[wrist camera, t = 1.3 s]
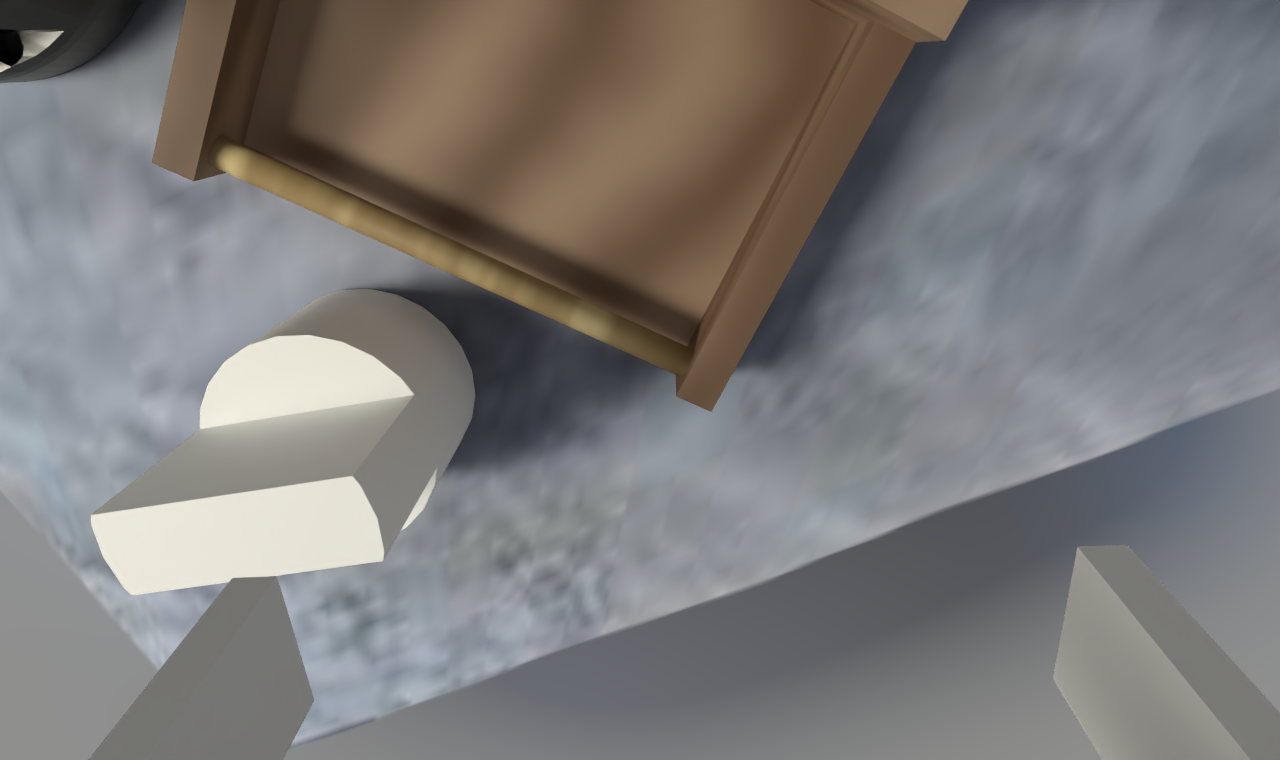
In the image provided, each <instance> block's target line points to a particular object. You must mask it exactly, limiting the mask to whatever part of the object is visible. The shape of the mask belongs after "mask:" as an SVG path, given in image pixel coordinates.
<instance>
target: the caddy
mask: <svg viewBox="0 0 1280 760" xmlns="http://www.w3.org/2000/svg"><path fill="white" fill-rule="evenodd" d="M967 2H968V0H186V5H185V10H184V15H183V19H182V24H181V29H180V33H179V38H178V43H177V47H176V52H175V57H174V61H173V66H172V71H171V75H170V80H169V85H168V90H167V94H166V99H165V104H164V108H163V113H162V118H161V122H160V127H159V132H158V136H157V141H156V146H155V150H154V155H153V160H152V163H154V164H156V165H158V166H160V167H163V168H165V169H167V170H169V171H172V172H174V173H176V174H178V175H181V176H183V177H185V178H187V179H190V180H192V181H197V180H200V179H204V178H208V177H212V176H216V175H219V174H223V173H228V174H230V175H232V176H234V177H237V178H239V179H241V180H243V181H246V182H248V183H250V184H252V185H255V186H257V187H259V188H261V189H263V190H266V191H268V192H270V193H272V194H275V195H277V196H279V197H281V198H283V199H286V200H288V201H290V202H292V203H295V204H297V205H299V206H301V207H304V208H306V209H308V210H310V211H312V212H315V213H317V214H319V215H321V216H324V217H326V218H328V219H330V220H332V221H335V222H337V223H339V224H341V225H344V226H346V227H348V228H350V229H353V230H355V231H357V232H359V233H361V234H364V235H366V236H368V237H370V238H373V239H375V240H377V241H379V242H381V243H384V244H386V245H388V246H390V247H393V248H395V249H397V250H399V251H402V252H404V253H406V254H408V255H410V256H413V257H415V258H417V259H419V260H422V261H424V262H426V263H428V264H430V265H433V266H435V267H437V268H439V269H442V270H444V271H446V272H448V273H451V274H453V275H455V276H457V277H459V278H462V279H464V280H466V281H468V282H471V283H473V284H475V285H477V286H479V287H482V288H484V289H486V290H488V291H491V292H493V293H495V294H497V295H500V296H502V297H504V298H506V299H508V300H511V301H513V302H515V303H517V304H520V305H522V306H524V307H526V308H528V309H531V310H533V311H535V312H537V313H540V314H542V315H544V316H546V317H548V318H551V319H553V320H555V321H557V322H560V323H562V324H564V325H566V326H569V327H571V328H573V329H575V330H577V331H580V332H582V333H584V334H586V335H589V336H591V337H593V338H595V339H597V340H600V341H602V342H604V343H606V344H609V345H611V346H613V347H615V348H618V349H620V350H622V351H624V352H626V353H629V354H631V355H633V356H635V357H638V358H640V359H642V360H644V361H646V362H649V363H651V364H653V365H655V366H658V367H660V368H662V369H664V370H667V371H669V372H671V373H673V374H675V375H676V396H677V397H679V398H681V399H684V400H686V401H688V402H690V403H693V404H695V405H697V406H699V407H702V408H704V409H706V410H708V411H712V409H713V408H714V406H715V404H716V402H717V400H718V399H719V397H720V395H721V393H722V391H723V390H724V388H725V386H726V384H727V382H728V381H729V379H730V377H731V375H732V373H733V372H734V370H735V368H736V366H737V364H738V363H739V361H740V359H741V357H742V355H743V354H744V352H745V350H746V348H747V346H748V344H749V343H750V341H751V339H752V337H753V335H754V334H755V332H756V330H757V328H758V326H759V325H760V323H761V321H762V319H763V317H764V316H765V314H766V312H767V310H768V308H769V307H770V305H771V303H772V301H773V299H774V298H775V296H776V294H777V292H778V290H779V289H780V287H781V285H782V283H783V281H784V280H785V278H786V276H787V274H788V272H789V271H790V269H791V267H792V265H793V263H794V261H795V260H796V258H797V256H798V254H799V252H800V251H801V249H802V247H803V245H804V243H805V242H806V240H807V238H808V236H809V234H810V233H811V231H812V229H813V227H814V225H815V224H816V222H817V220H818V218H819V216H820V215H821V213H822V211H823V209H824V207H825V206H826V204H827V202H828V200H829V198H830V197H831V195H832V193H833V191H834V189H835V187H836V186H837V184H838V182H839V180H840V178H841V177H842V175H843V173H844V171H845V169H846V168H847V166H848V164H849V162H850V160H851V159H852V157H853V155H854V153H855V151H856V150H857V148H858V146H859V144H860V142H861V141H862V139H863V137H864V135H865V133H866V132H867V130H868V128H869V126H870V124H871V123H872V121H873V119H874V117H875V115H876V113H877V112H878V110H879V108H880V106H881V104H882V103H883V101H884V99H885V97H886V95H887V94H888V92H889V90H890V88H891V86H892V85H893V83H894V81H895V79H896V77H897V76H898V74H899V72H900V70H901V68H902V67H903V65H904V63H905V61H906V59H907V58H908V56H909V54H910V52H911V50H912V49H913V47H914V45H915V43H916V42H931V41H946V39H947V37H948V36H949V34H950V32H951V30H952V28H953V27H954V25H955V23H956V21H957V20H958V18H959V16H960V14H961V13H962V11H963V9H964V7H965V6H966V4H967Z"/></svg>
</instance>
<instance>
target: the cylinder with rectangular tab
mask: <svg viewBox="0 0 1280 760" xmlns="http://www.w3.org/2000/svg"><path fill="white" fill-rule="evenodd" d="M474 402H475V389H474V382H473V375H472V370H471V367H470V365H469V363H468V360H467V358H466V356H465V353H464V351H463V349H462V346H461V345H460V344H459V343H458V341H457V340H456V339H455V337H454V336H453V335H452V333H451V332H450V331H449V329H448V328H447V327H446V326H445V324H443V323H442V322H441V321H440V320H438V319H437V318H436V317H435V316H433V315H432V314H431V313H430V312H428V311H427V310H426V309H425V308H424V307H422V306H420V305H418V304H416V303H414V302H412V301H409V300H407V299H405V298H403V297H401V296H399V295H397V294H392V293H387V292H383V291H378V290H373V289H351V290H341V291H338V292H334V293H331V294H328V295H325V296H322V297H319V298H317V299H316V300H314V301H313V302H311V303H310V304H308V305H307V306H305V307H304V308H302V309H301V310H299V311H298V312H296V313H295V314H294V315H292V316H291V317H289V318H288V319H286V320H285V321H283V322H282V323H280V324H279V325H277V326H276V327H274V328H273V329H271V330H270V331H269V332H267V333H266V334H264V335H263V336H261V337H260V338H258V339H257V340H255V341H254V342H252V343H251V344H249V345H248V346H247V347H245V348H244V349H242V350H241V351H239V352H238V353H236V354H235V355H234V356H232V357H231V358H229V359H228V360H226V361H225V362H224V363H223V365H222V366H221V367H220V369H219V370H218V371H217V373H216V374H215V375H214V377H213V378H212V379H211V381H210V382H209V384H208V386H207V389H206V393H205V396H204V399H203V402H202V405H201V408H200V429H199V430H198V431H197V432H196V433H194V434H193V435H192V436H191V437H189V438H188V439H187V440H186V441H184V442H183V443H182V444H180V445H179V446H178V447H177V448H175V449H174V450H173V451H172V452H170V453H169V454H168V455H166V456H165V457H164V458H163V459H161V460H160V461H159V462H158V463H156V464H155V465H154V466H153V467H151V468H150V469H149V470H147V471H146V472H145V473H144V474H142V475H141V476H140V477H139V478H137V479H136V480H135V481H133V482H132V483H131V484H130V485H128V486H127V487H126V488H125V489H123V490H122V491H121V492H120V493H118V494H117V495H116V496H114V497H113V498H112V499H111V500H109V501H108V502H107V503H106V504H104V505H103V506H102V507H100V508H99V509H98V510H97V511H95V512H94V513H93V514H92V515H91V525H92V528H93V531H94V533H95V536H96V539H97V542H98V544H99V547H100V550H101V553H102V555H103V558H104V559H105V561H106V562H107V564H108V565H109V567H110V568H111V570H112V571H113V572H114V574H115V575H116V577H117V578H118V580H119V581H120V583H121V584H122V586H123V587H124V588H125V589H126V590H127V591H128V592H129V593H130V594H131V595H139V594H146V593H153V592H160V591H168V590H175V589H182V588H190V587H197V586H204V585H211V584H219V583H226V582H230V580H231V579H232V578H242V577H269V576H277V575H284V574H291V573H299V572H306V571H313V570H321V569H328V568H335V567H342V566H350V565H357V564H364V563H372V562H379V561H383V560H384V559H385V557H386V555H387V553H388V552H389V550H390V548H391V546H392V545H393V543H394V541H395V539H396V538H397V536H398V534H399V532H400V531H401V530H403V529H405V528H406V527H407V526H408V525H409V524H410V523H411V522H412V521H413V520H414V519H415V518H416V517H417V516H418V514H419V513H420V512H421V511H422V510H423V509H424V508H425V506H426V504H427V502H428V500H429V499H430V497H431V495H432V493H433V491H434V489H435V488H436V486H437V484H438V482H439V480H440V479H441V477H442V475H443V473H444V471H445V470H446V468H447V466H448V464H449V462H450V460H451V459H452V457H453V455H454V453H455V451H456V450H457V448H458V446H459V444H460V442H461V441H462V439H463V437H464V434H465V432H466V430H467V428H468V426H469V424H470V422H471V420H472V415H473V409H474Z"/></svg>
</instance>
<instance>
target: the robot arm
mask: <svg viewBox="0 0 1280 760" xmlns="http://www.w3.org/2000/svg"><path fill="white" fill-rule="evenodd" d="M139 1H140V0H0V83H9V82H26V81H33V80H40V79H44V78H48V77H52V76H55V75H58V74H61V73H64V72H66V71H69V70H71V69H73V68H75V67H77V66H79V65H81V64H83V63H84V62H86V61H88V60H89V59H91V58H92V57H94V56H95V55H96V54H98V53H99V52H100V51H101V50H103V49H104V48H105V47H106V46H107V45H108V44H109V43H110V42H111V41H112V40H113V39H114V38H115V37H116V36H117V35H118V34H119V32H120V31H121V30H122V29H123V27H124V26H125V25H126V23H127V22H128V20H129V19H130V17H131V16H132V14H133V13H134V11H135V9H136V7H137V5H138V3H139ZM1053 680H1054V681H1055V683H1056V685H1057V686H1058V688H1059V689H1060V691H1061V693H1062V694H1063V696H1064V698H1065V699H1066V701H1067V703H1068V705H1069V706H1070V708H1071V709H1072V711H1073V713H1074V714H1075V716H1076V717H1077V719H1078V721H1079V723H1080V724H1081V726H1082V728H1083V729H1084V731H1085V733H1086V734H1087V736H1088V737H1089V739H1090V741H1091V743H1092V744H1093V746H1094V747H1095V749H1096V751H1097V752H1098V754H1099V756H1100V757H1101V759H1102V760H1280V712H1279V711H1278V710H1277V709H1276V708H1275V707H1274V706H1273V705H1272V704H1271V703H1270V701H1269V700H1268V699H1267V698H1266V697H1265V696H1264V695H1263V694H1262V693H1261V692H1260V691H1259V689H1258V688H1257V687H1256V686H1255V685H1254V684H1253V683H1252V682H1251V681H1250V679H1249V678H1248V677H1247V676H1246V675H1245V674H1244V673H1243V672H1242V671H1241V670H1240V669H1239V668H1238V666H1237V665H1236V664H1235V663H1234V662H1233V661H1232V660H1231V659H1230V658H1229V656H1228V655H1226V653H1225V652H1224V651H1223V650H1222V649H1221V648H1220V647H1219V646H1218V644H1217V643H1216V642H1215V641H1214V640H1213V639H1212V638H1211V637H1210V636H1209V634H1208V633H1207V632H1206V631H1205V630H1204V629H1203V628H1202V627H1201V626H1200V625H1199V624H1198V622H1197V621H1196V620H1195V619H1194V618H1193V617H1192V616H1191V615H1190V614H1189V613H1188V611H1187V610H1186V609H1185V608H1184V607H1183V606H1182V605H1181V604H1180V603H1179V602H1178V601H1177V600H1176V598H1175V597H1174V596H1173V595H1172V594H1171V593H1170V592H1169V591H1168V590H1167V588H1166V587H1165V586H1164V585H1163V584H1162V583H1161V582H1160V581H1159V580H1158V579H1157V577H1155V575H1154V574H1153V573H1152V572H1151V571H1150V570H1149V569H1148V568H1147V567H1146V566H1145V564H1144V563H1143V562H1142V561H1141V560H1140V559H1139V558H1138V557H1137V556H1136V555H1135V553H1134V552H1133V551H1132V550H1131V549H1130V548H1129V547H1128V546H1127V545H1116V546H1088V547H1078V548H1077V553H1076V559H1075V564H1074V569H1073V575H1072V580H1071V585H1070V591H1069V596H1068V601H1067V607H1066V612H1065V618H1064V623H1063V628H1062V633H1061V639H1060V644H1059V649H1058V655H1057V660H1056V665H1055V671H1054V676H1053ZM313 701H314V698H313V695H312V691H311V688H310V685H309V681H308V678H307V675H306V671H305V668H304V665H303V661H302V658H301V655H300V651H299V648H298V645H297V641H296V638H295V635H294V632H293V628H292V625H291V622H290V618H289V615H288V612H287V608H286V605H285V602H284V598H283V595H282V592H281V588H280V585H279V582H278V578H277V576H269V577H242V578H232V579H231V580H230V582H229V583H228V584H227V585H226V587H225V588H224V589H223V590H222V592H221V593H220V594H219V596H218V597H217V598H216V599H215V601H214V602H213V603H212V604H211V606H210V607H209V608H208V609H207V611H206V612H205V613H204V614H203V616H202V617H201V618H200V620H199V621H198V622H197V623H196V625H195V626H194V627H193V628H192V630H191V631H190V632H189V633H188V635H187V636H186V637H185V638H184V640H183V641H182V642H181V643H180V645H179V646H178V647H177V649H176V650H175V651H174V652H173V654H172V655H171V656H170V657H169V659H168V660H167V661H166V662H165V664H164V665H163V666H162V667H161V669H160V670H159V671H158V672H157V674H156V675H155V676H154V678H153V679H152V680H151V681H150V683H149V684H148V685H147V687H146V688H145V689H144V690H143V691H142V693H141V694H140V695H139V696H138V698H137V699H136V700H135V701H134V703H133V704H132V705H131V707H130V708H129V709H128V710H127V712H126V713H125V714H124V715H123V717H122V718H121V719H120V721H119V722H118V723H117V724H116V726H115V727H114V728H113V729H112V730H111V732H110V733H109V734H108V736H107V737H106V738H105V739H104V741H103V742H102V743H101V745H100V746H99V747H98V748H97V749H96V751H95V752H94V753H93V754H92V756H91V757H90V758H89V759H88V760H283V759H284V757H285V755H286V753H287V751H288V749H289V747H290V745H291V743H292V741H293V740H294V738H295V736H296V734H297V732H298V730H299V728H300V726H301V724H302V722H303V720H304V719H305V717H306V715H307V713H308V711H309V709H310V707H311V705H312V703H313Z"/></svg>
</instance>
